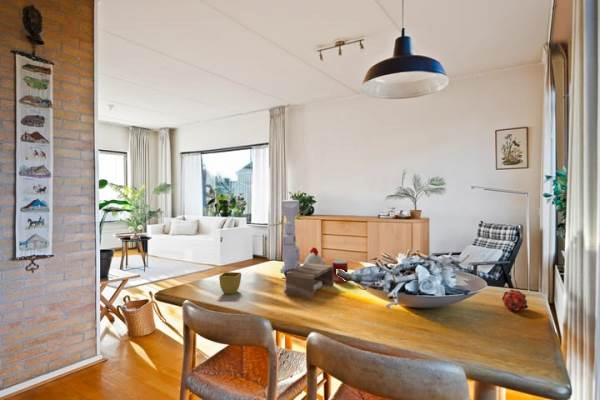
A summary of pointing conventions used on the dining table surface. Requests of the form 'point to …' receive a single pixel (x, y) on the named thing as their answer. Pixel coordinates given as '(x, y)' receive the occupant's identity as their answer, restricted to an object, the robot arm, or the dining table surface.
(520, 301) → the dragon fruit
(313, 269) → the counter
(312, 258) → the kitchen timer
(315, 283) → the white tray
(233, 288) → the flower pot
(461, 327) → the dining table surface
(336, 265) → the canned food
